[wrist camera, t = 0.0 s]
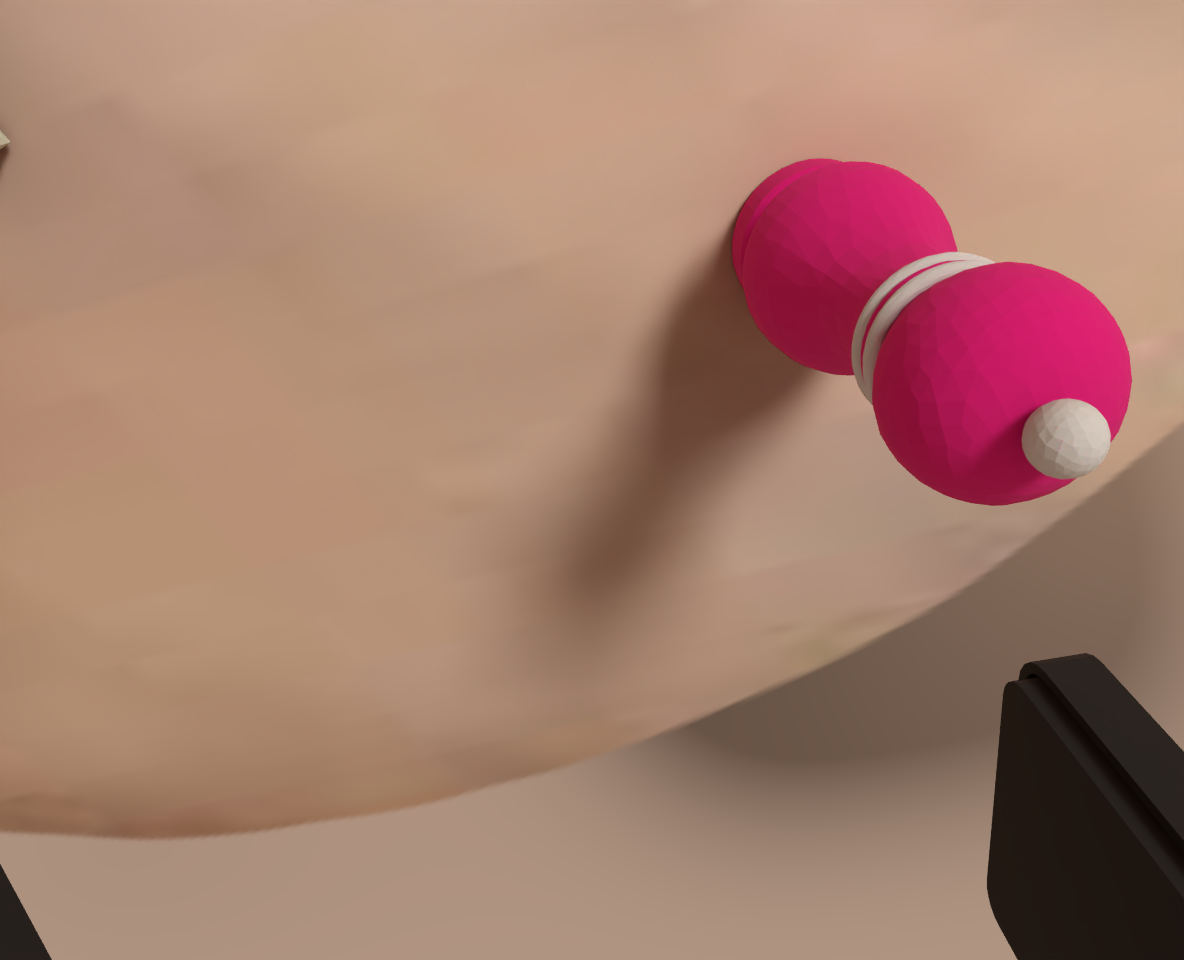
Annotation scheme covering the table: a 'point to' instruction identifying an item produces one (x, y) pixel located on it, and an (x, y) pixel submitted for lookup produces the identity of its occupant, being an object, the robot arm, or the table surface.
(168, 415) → the table surface
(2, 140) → the tongs arm
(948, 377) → the pepper mill
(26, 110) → the table surface
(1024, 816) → the robot arm
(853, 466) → the table surface
